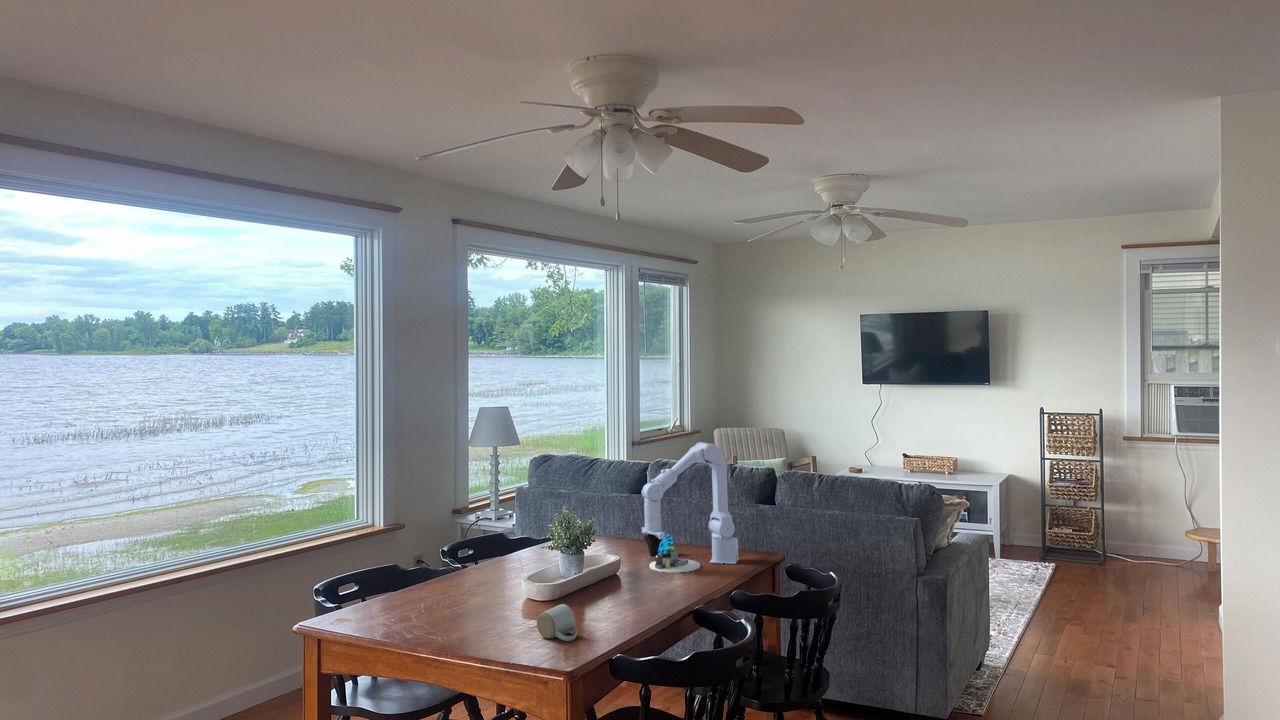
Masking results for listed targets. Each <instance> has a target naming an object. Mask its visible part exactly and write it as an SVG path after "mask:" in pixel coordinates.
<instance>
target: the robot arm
mask: <svg viewBox="0 0 1280 720" xmlns="http://www.w3.org/2000/svg"><path fill="white" fill-rule="evenodd" d="M699 462H700V463H701V462H705V463H706V464H707V465H708V466H709V467H710V468H711V479H712V480H711V482H712V487H711V488H712V512H711V513H710V514H709V515H710V516H709V517H710V518H709V522H708V530H709V532H710V533H711V554H712V556H711V559H710V561H709V564H723V563H725V564H726V565H727V564H728V565H729V564H731V565H736V564H737V563H738V561H739V541H738V540H739V539H738V537H733V535H735V534H734V533H735V529H736V526H735V524H734V522H733V516H732V514H731V513H730V512H729V503H728V502H729V500H728V499H729V498H728V496H729V495H728V470H727V469H728V467H727V466H728V465H727V460H726V458H725V456H724V455H723V453H722V449H721V448H720V446H718V445H716V444H715V443H707V442H703V441H699V442H696V443H695V444H694V446H692V447H690V448H689V450H688V451H687V452H686V453H685V454H684V455H683V456H682V457H681V458H680V459H679V460H678V461H677V462H676V463H675V464H674V465H673V466H672V467H671V468H665V469H661V470H660V474H658V475H657V476H656V477H655V478H652V479H651V480H650V482H647V483H646V484H644V485H643V487H642V489H641V492H640V493H641V496H642V497H643V499H644V503H643V504H644V508H643V509H644V526H642V527H641V533H642V534H647V535H644V536H643V538H644V541H645V542H646V545H647V548H648V552H649V556H650V557H655V556H656V555H657V554H658V549H659V545H660V543H661V541H662V539H665V535H666V533H665V532H663V530H662V512H661V511H662V510H661V499H662V498H663V496H664V493H665V492H666V491H667V490H668V489H669V488H671V487H672V486H673V484H675V483H676V482H677V480H678V475H680V474H681V473H683V472H684V471H685V470H686V469H687V468H689V467H690V466H692V465H693V464H694V463H699ZM725 564H724V565H725Z"/></svg>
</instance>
